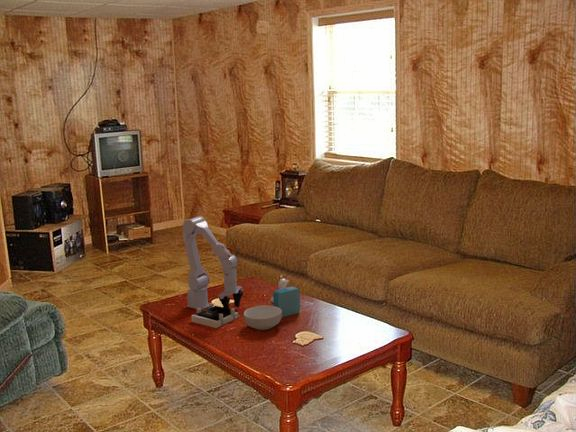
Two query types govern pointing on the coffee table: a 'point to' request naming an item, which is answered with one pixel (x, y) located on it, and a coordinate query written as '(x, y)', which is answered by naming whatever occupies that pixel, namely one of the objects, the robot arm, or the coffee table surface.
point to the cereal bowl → (263, 316)
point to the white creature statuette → (281, 285)
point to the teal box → (287, 300)
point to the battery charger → (215, 312)
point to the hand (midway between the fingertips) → (231, 309)
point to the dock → (213, 322)
